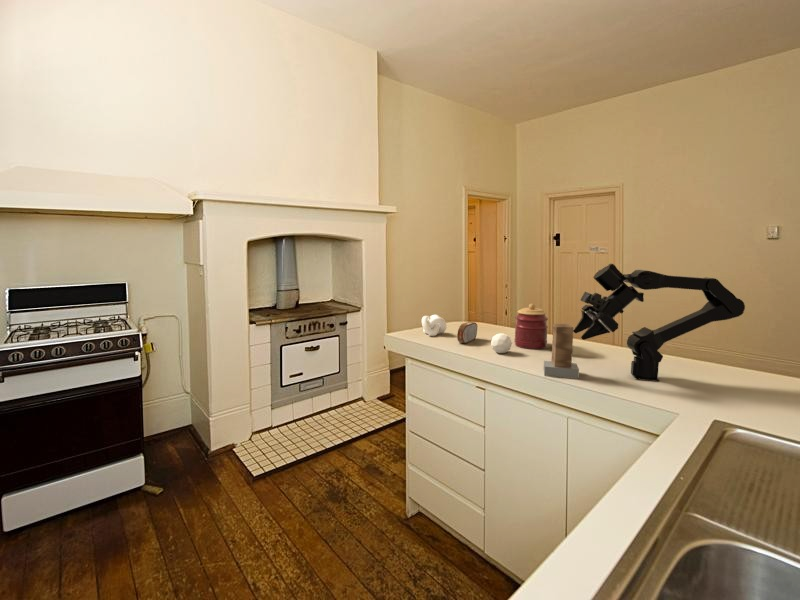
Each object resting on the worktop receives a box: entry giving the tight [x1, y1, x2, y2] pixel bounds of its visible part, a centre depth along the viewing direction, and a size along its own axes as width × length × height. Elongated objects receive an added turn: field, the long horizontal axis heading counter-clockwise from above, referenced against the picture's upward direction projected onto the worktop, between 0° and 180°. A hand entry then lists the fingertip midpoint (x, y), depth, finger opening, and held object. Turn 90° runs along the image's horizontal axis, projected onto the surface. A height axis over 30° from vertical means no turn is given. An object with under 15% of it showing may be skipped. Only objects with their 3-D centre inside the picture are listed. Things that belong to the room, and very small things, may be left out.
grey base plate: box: [543, 360, 580, 380], centre depth 131 cm, size 10×7×3 cm
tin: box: [456, 321, 478, 344], centre depth 176 cm, size 15×3×8 cm, turn 144°
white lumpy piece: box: [421, 314, 448, 337], centre depth 190 cm, size 11×12×9 cm
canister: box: [514, 303, 549, 350], centre depth 167 cm, size 13×13×18 cm
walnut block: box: [551, 323, 574, 368], centre depth 130 cm, size 5×5×13 cm
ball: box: [490, 333, 513, 354], centre depth 157 cm, size 8×8×8 cm
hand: (578, 335), depth 129 cm, fingers open, 9 cm apart
